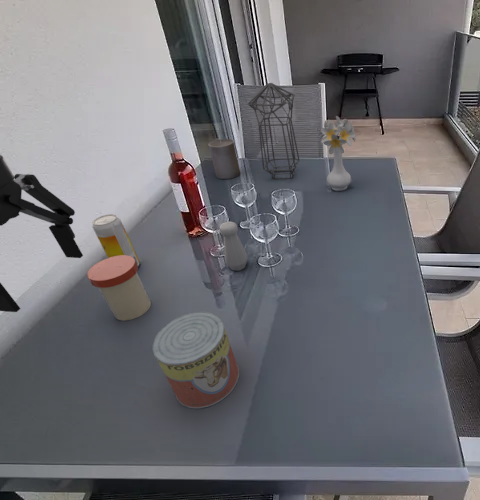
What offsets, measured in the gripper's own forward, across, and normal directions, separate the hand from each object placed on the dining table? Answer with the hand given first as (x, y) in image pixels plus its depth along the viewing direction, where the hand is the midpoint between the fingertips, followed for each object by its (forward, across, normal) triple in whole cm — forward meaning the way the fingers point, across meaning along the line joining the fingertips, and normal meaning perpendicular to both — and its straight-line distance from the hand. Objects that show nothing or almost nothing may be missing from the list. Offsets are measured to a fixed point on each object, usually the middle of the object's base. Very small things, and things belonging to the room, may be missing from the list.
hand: (45, 280), depth 59 cm
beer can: (+21, +28, +11) cm, 36 cm away
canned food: (+19, -4, -26) cm, 32 cm away
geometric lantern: (+21, +92, -16) cm, 96 cm away
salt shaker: (+20, +30, -19) cm, 41 cm away
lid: (+8, +13, 0) cm, 15 cm away
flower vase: (+20, +80, -41) cm, 92 cm away
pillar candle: (+22, +92, +8) cm, 95 cm away
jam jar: (+20, +13, 0) cm, 23 cm away
